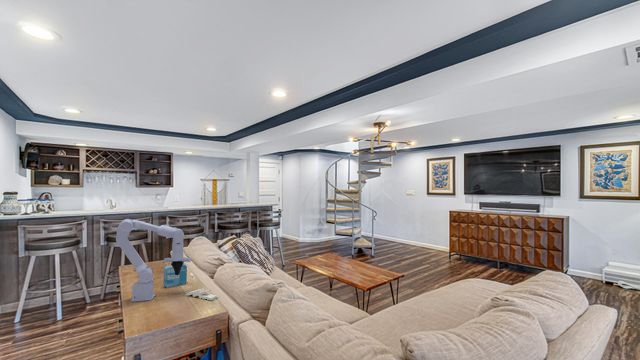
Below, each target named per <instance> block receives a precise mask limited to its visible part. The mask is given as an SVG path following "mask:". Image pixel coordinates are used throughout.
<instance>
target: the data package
mask: <svg viewBox="0 0 640 360" xmlns="http://www.w3.org/2000/svg"><path fill="white" fill-rule="evenodd" d="M187 276H188V266H187V265H186V264H185V263H183V265H182V267H181V270H180V274H179V275H175V271H174V269H173V267H172V265H166V266H165V267H163V286H164V287H165V288H167V289H169V288H174V287H178V286H177V285H179V286H182V285H181V284H184V285H186V284H187V282H188V281H187V279H188V277H187ZM185 283H186V284H185ZM173 286H174V287H173Z"/></svg>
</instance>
